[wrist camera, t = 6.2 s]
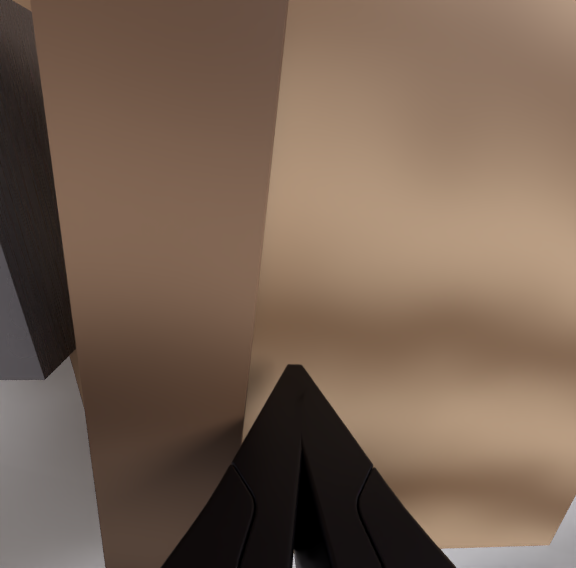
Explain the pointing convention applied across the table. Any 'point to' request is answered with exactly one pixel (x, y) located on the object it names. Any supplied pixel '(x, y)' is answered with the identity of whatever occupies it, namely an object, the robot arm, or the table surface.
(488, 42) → the stool seat
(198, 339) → the stool leg
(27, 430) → the table surface
